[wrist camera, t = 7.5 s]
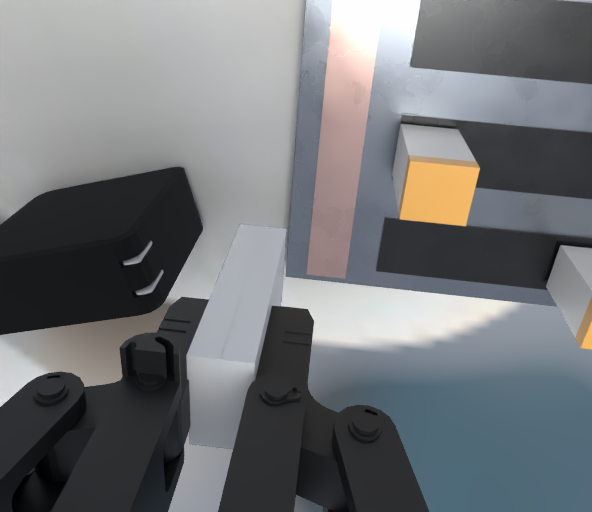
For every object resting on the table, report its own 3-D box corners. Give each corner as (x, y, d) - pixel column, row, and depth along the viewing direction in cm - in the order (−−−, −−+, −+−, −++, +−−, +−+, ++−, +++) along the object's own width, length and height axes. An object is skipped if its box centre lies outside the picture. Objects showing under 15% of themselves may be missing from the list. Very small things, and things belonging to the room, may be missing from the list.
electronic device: (40, 191, 36) (-61, 270, 27) (186, 163, 34) (128, 238, 25) (66, 248, 38) (-20, 339, 29) (206, 224, 36) (159, 314, 27)
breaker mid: (392, 174, 31) (399, 219, 25) (400, 123, 29) (410, 160, 24) (447, 179, 30) (465, 226, 25) (458, 129, 29) (480, 168, 24)
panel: (288, 262, 37) (285, 278, 35) (312, -51, 28) (309, -51, 26) (663, 303, 35) (679, 322, 34) (812, -9, 27) (846, -6, 25)
